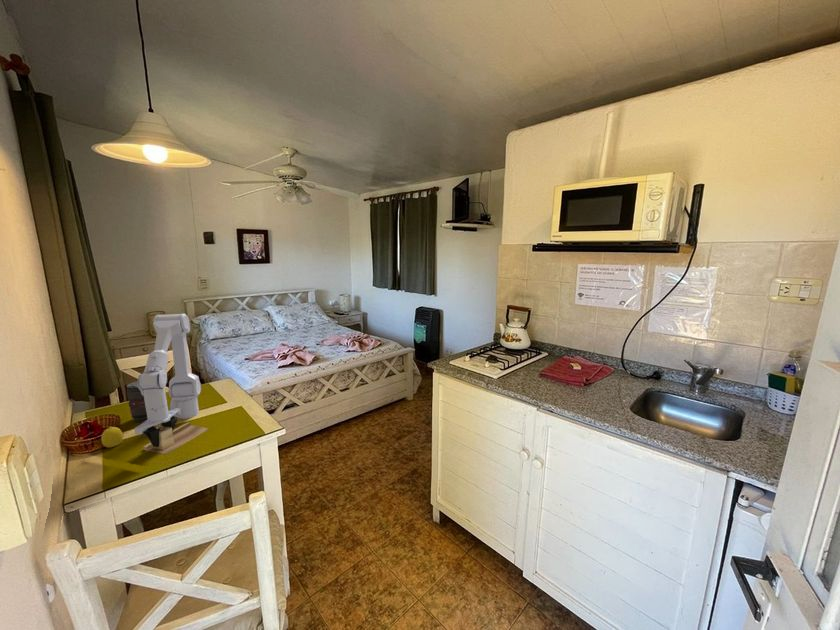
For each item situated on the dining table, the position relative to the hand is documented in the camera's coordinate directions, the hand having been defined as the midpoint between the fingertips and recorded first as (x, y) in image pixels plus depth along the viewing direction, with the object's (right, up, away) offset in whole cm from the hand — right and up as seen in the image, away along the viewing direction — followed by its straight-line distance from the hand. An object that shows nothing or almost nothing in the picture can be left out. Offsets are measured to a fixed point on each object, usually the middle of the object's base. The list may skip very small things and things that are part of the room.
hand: (162, 442), depth 119 cm
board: (+2, -2, +5) cm, 6 cm away
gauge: (0, -1, 0) cm, 1 cm away
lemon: (-18, -3, +2) cm, 18 cm away
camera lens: (-24, +1, +22) cm, 33 cm away
